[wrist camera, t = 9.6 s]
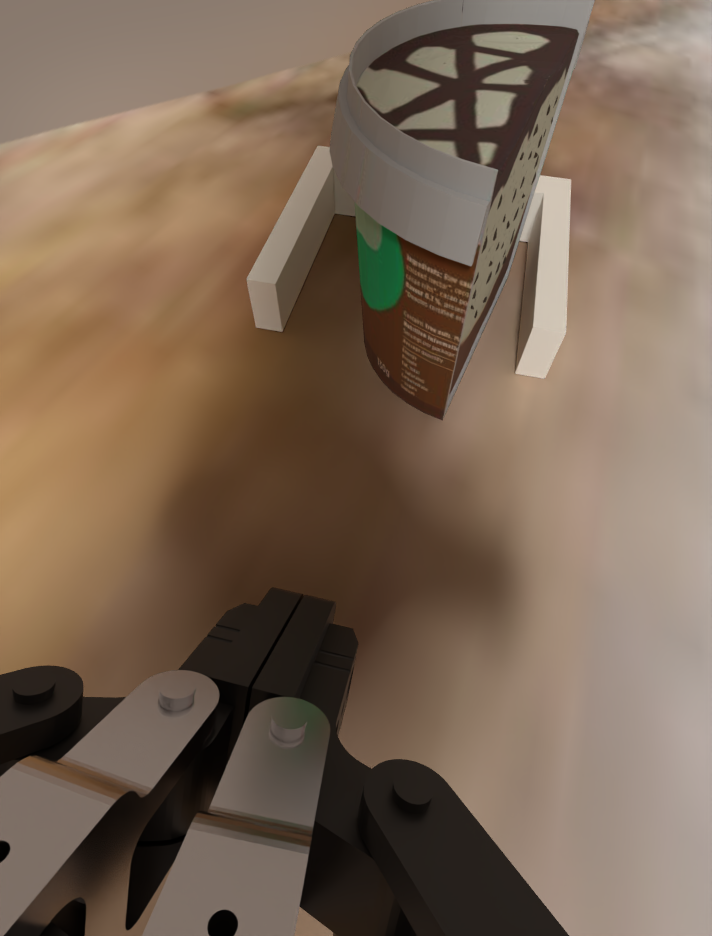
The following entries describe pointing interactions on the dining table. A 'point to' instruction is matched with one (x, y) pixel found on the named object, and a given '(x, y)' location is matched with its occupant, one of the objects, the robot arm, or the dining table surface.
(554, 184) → the bay
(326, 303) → the dining table surface
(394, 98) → the food container
